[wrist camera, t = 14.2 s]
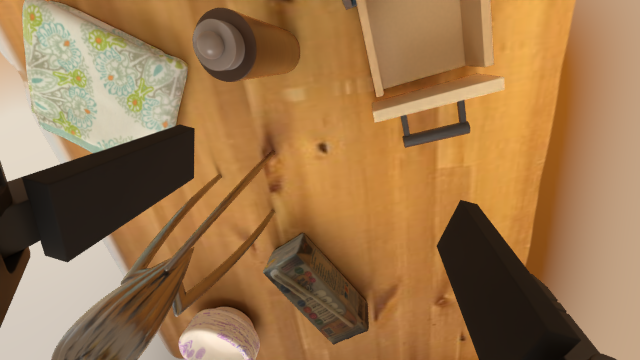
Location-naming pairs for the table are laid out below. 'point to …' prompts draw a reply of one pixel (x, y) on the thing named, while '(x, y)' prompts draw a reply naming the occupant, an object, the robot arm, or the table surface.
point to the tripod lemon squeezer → (150, 291)
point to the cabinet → (349, 4)
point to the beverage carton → (318, 289)
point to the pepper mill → (243, 46)
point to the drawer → (427, 57)
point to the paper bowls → (219, 336)
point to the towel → (97, 78)
